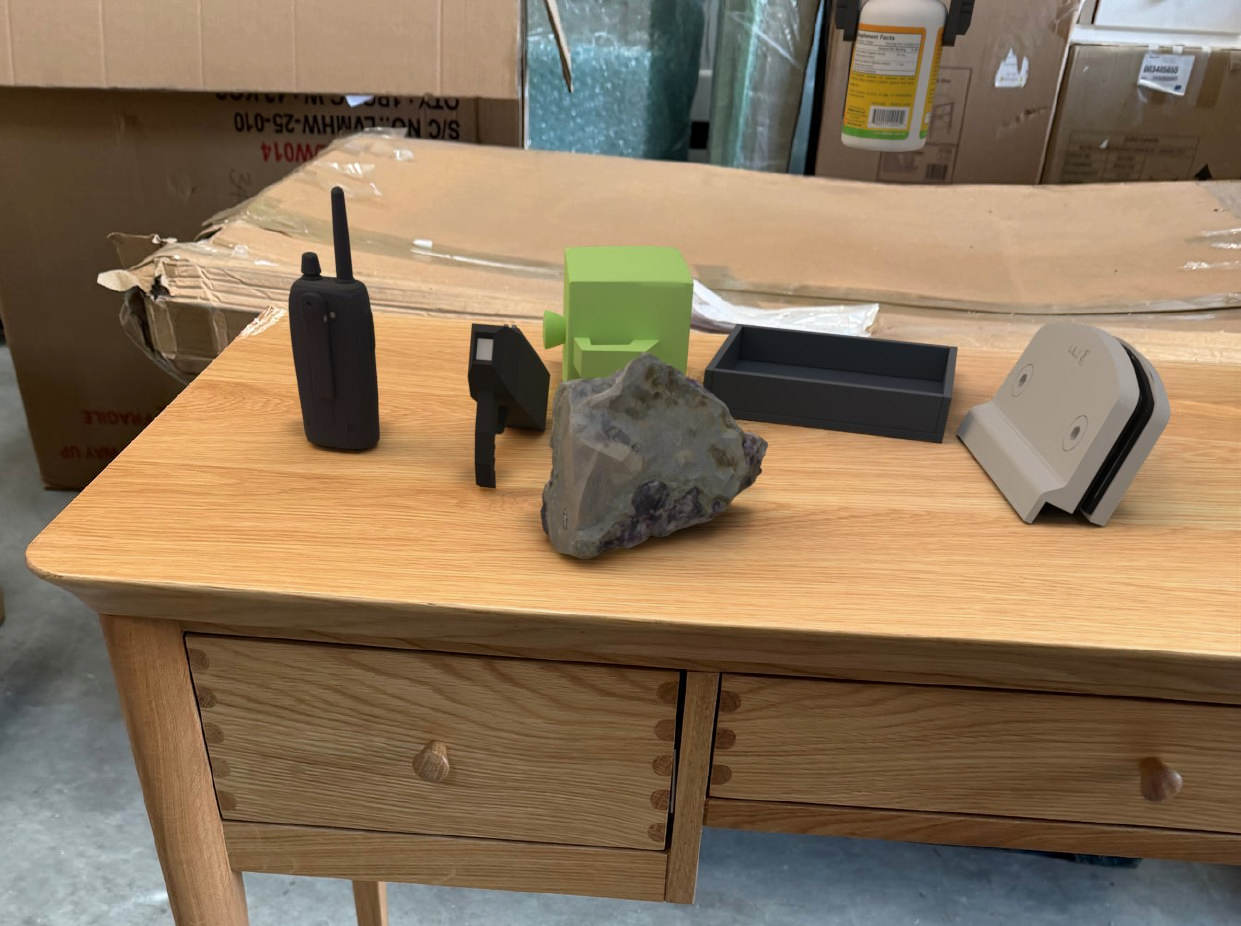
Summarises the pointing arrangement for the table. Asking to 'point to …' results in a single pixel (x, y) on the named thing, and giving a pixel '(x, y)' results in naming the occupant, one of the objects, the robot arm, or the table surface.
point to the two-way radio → (335, 347)
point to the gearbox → (621, 309)
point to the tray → (835, 381)
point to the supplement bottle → (894, 74)
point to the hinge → (1069, 422)
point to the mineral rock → (641, 458)
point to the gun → (503, 390)
